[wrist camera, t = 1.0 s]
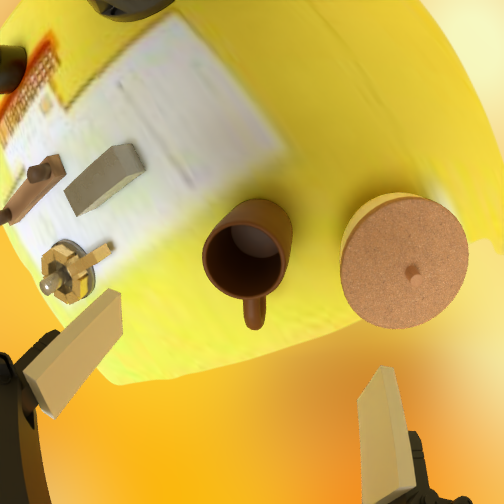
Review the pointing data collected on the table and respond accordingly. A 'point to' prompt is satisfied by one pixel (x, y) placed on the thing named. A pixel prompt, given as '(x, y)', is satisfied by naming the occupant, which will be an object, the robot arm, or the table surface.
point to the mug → (249, 255)
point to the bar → (104, 178)
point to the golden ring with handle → (72, 269)
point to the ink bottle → (11, 67)
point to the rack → (33, 189)
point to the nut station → (66, 272)
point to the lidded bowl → (402, 260)
